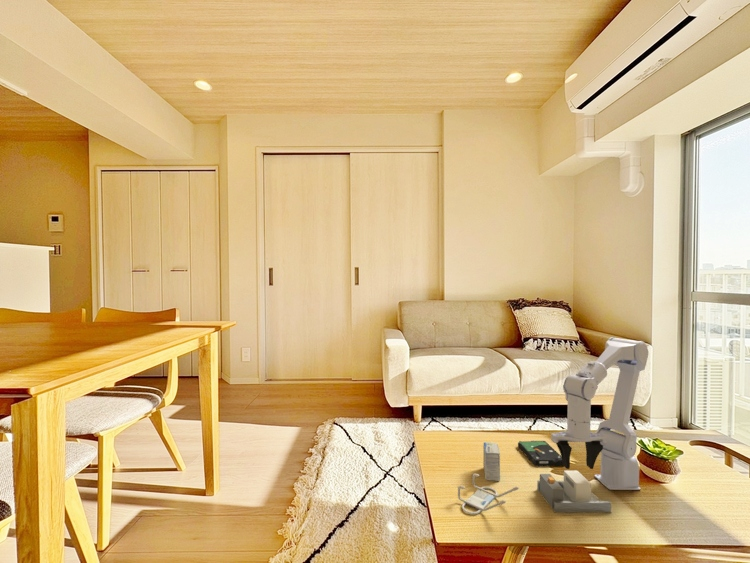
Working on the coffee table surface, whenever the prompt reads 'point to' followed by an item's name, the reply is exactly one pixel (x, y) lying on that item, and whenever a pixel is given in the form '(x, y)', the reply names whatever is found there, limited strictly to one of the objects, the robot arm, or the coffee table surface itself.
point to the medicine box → (491, 461)
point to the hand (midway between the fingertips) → (578, 467)
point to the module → (576, 486)
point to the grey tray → (579, 504)
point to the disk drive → (540, 453)
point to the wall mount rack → (482, 498)
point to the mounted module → (551, 489)
